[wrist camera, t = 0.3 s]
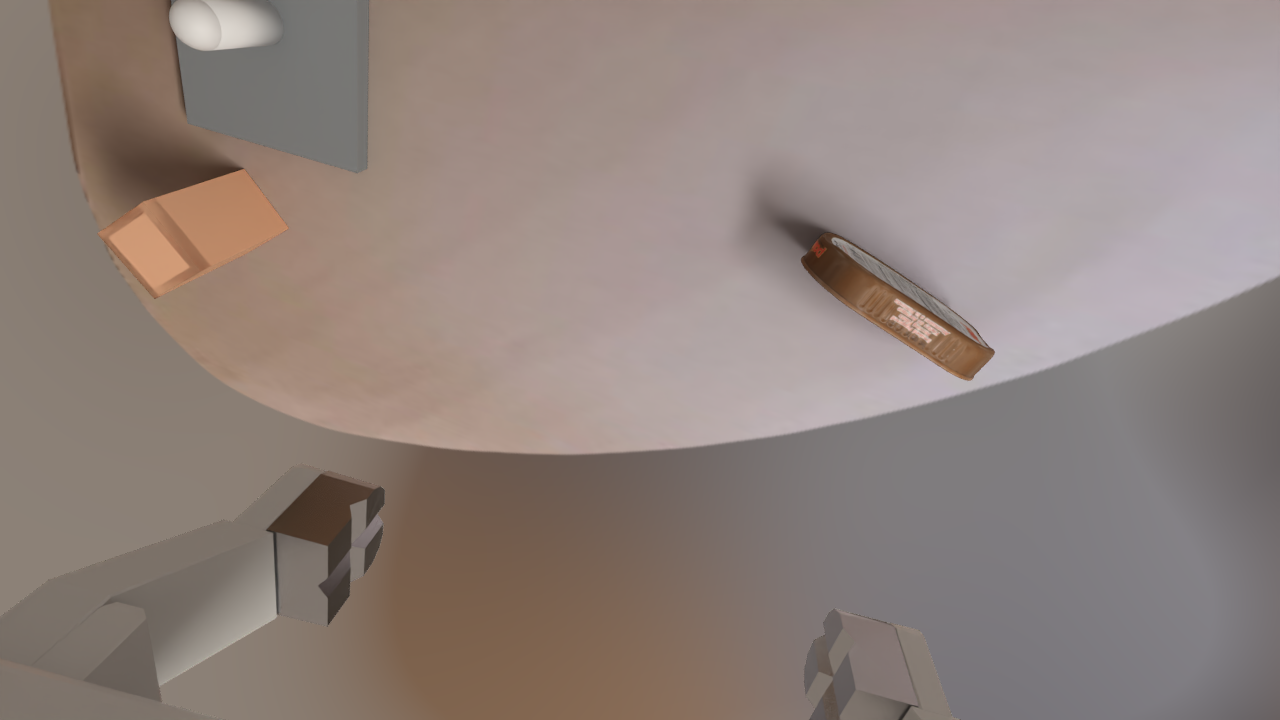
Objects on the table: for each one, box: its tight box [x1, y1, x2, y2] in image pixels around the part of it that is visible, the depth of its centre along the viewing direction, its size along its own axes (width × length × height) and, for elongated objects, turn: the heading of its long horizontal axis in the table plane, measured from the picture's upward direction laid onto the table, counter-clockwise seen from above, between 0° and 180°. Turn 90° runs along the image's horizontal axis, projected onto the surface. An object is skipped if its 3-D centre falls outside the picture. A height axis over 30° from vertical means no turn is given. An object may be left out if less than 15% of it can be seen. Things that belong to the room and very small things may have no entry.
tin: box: [801, 233, 995, 381], centre depth 44 cm, size 15×3×8 cm, turn 60°
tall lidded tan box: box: [98, 169, 289, 299], centre depth 50 cm, size 6×6×10 cm
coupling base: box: [169, 0, 369, 173], centre depth 42 cm, size 18×14×9 cm
